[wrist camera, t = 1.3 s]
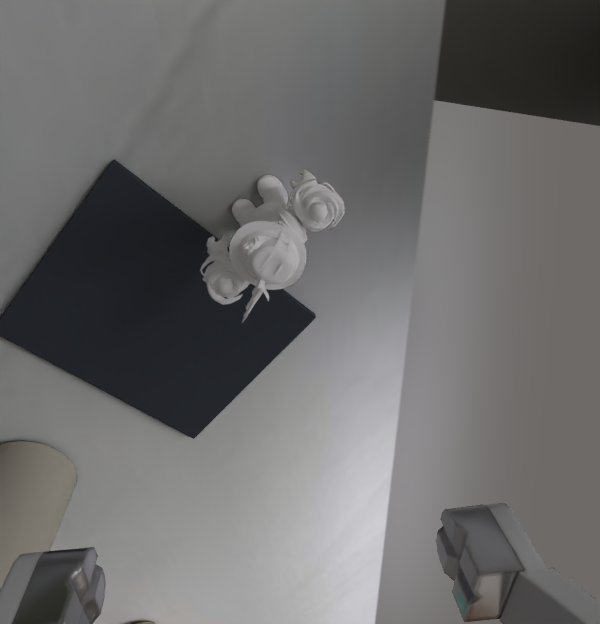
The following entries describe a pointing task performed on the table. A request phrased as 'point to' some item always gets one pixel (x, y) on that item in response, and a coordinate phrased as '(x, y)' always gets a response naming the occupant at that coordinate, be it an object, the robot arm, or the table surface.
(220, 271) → the cartoon character statuette
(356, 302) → the table surface
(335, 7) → the table surface
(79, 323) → the mat
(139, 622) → the whale figurine
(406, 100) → the table surface
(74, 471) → the travel mug
